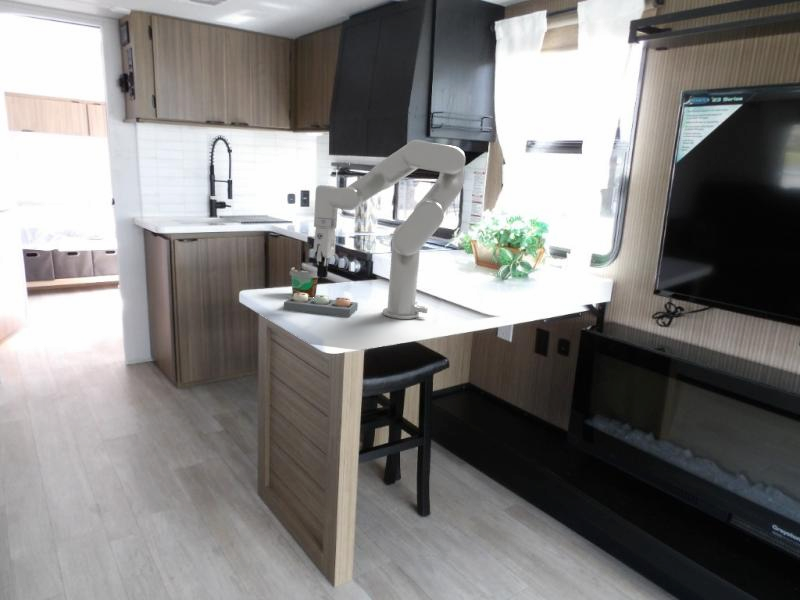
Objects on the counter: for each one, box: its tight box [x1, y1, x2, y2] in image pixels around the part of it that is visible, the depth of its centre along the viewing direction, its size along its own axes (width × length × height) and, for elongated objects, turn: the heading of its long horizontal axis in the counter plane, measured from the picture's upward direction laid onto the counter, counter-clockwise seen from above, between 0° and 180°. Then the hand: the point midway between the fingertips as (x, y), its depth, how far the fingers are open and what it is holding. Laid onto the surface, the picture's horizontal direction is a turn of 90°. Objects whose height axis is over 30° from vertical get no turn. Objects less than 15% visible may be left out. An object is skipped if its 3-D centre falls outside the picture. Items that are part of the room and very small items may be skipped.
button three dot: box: [335, 296, 351, 308], centre depth 193 cm, size 5×5×3 cm
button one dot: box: [314, 294, 330, 305], centre depth 194 cm, size 5×5×3 cm
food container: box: [289, 266, 319, 297], centre depth 210 cm, size 12×6×10 cm, turn 62°
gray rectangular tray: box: [283, 295, 359, 318], centre depth 194 cm, size 23×11×3 cm, turn 80°
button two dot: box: [293, 293, 308, 303], centre depth 195 cm, size 5×5×3 cm
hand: (322, 276), depth 192 cm, fingers closed
